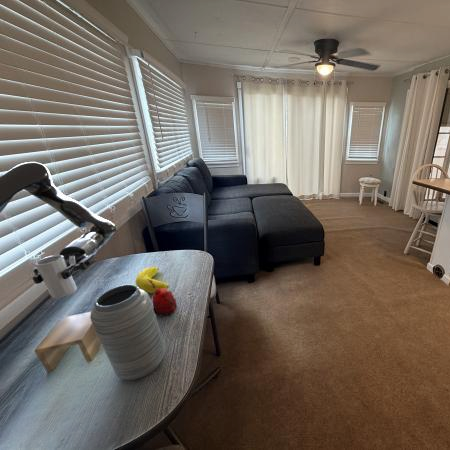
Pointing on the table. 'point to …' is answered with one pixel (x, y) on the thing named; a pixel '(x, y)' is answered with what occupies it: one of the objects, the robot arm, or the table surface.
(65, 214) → the robot arm
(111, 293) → the vase
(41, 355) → the small wooden bench
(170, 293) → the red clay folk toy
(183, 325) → the table surface
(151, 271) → the fruit
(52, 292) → the white cylindrical cup
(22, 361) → the table surface
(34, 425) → the table surface
